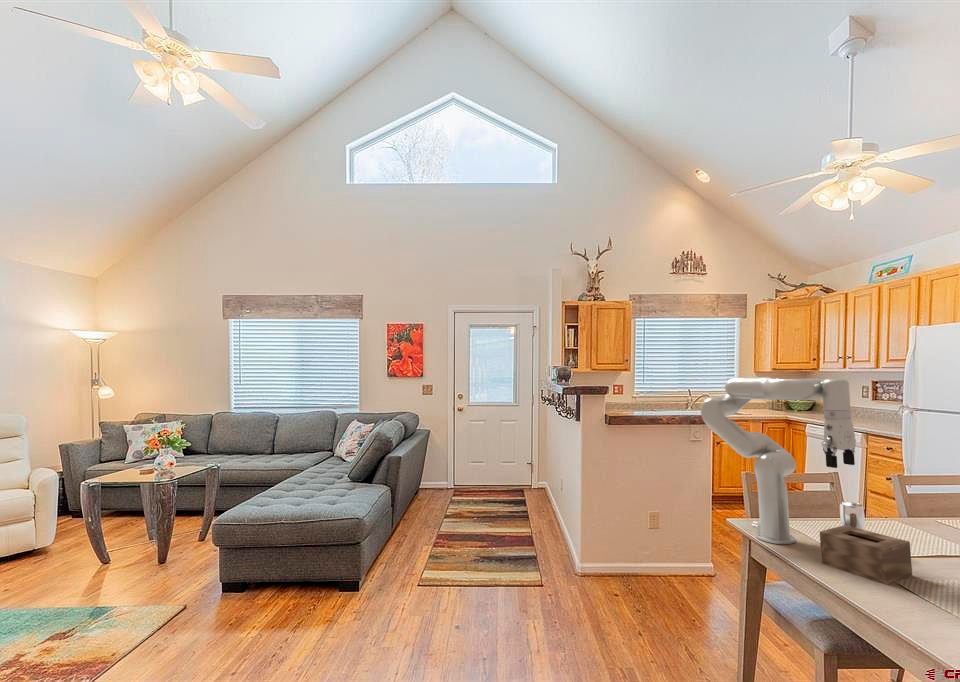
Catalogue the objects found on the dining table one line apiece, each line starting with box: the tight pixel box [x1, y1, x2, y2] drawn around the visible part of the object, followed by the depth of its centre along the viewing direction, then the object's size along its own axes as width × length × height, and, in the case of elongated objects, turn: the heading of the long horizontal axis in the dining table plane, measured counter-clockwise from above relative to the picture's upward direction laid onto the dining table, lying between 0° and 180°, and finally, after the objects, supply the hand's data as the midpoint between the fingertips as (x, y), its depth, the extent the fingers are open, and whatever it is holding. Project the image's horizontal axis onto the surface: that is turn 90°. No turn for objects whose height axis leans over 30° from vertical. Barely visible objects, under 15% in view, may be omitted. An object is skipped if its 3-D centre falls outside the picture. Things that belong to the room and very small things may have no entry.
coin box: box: [819, 525, 913, 585], centre depth 152 cm, size 18×14×10 cm
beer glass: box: [839, 501, 866, 530], centre depth 170 cm, size 7×7×15 cm
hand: (840, 465), depth 163 cm, fingers open, 9 cm apart
